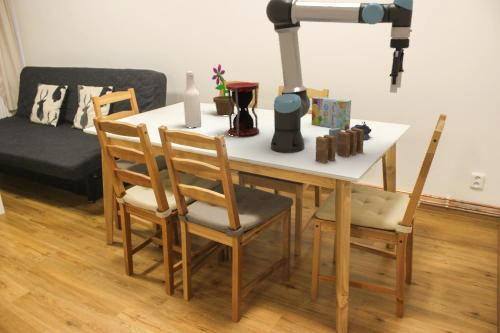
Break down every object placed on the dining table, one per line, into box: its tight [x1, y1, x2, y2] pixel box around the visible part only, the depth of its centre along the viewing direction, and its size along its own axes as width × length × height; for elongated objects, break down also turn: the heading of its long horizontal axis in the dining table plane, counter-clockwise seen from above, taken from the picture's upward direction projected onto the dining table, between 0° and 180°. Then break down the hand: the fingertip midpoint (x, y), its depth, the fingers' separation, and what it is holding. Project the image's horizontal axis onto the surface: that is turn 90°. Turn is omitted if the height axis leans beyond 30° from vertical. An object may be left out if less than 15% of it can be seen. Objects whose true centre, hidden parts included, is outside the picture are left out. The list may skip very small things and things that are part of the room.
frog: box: [350, 121, 372, 141], centre depth 211 cm, size 10×12×8 cm
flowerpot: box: [211, 64, 236, 116], centre depth 267 cm, size 14×14×30 cm
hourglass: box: [225, 81, 260, 138], centre depth 223 cm, size 16×16×25 cm
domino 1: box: [315, 135, 329, 164], centre depth 178 cm, size 2×5×10 cm, turn 35°
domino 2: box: [328, 128, 342, 153], centre depth 191 cm, size 2×5×10 cm, turn 126°
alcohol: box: [182, 70, 202, 129], centre depth 239 cm, size 9×9×30 cm
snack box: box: [311, 96, 352, 131], centre depth 233 cm, size 21×6×15 cm, turn 47°
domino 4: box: [336, 130, 350, 158], centre depth 185 cm, size 2×5×10 cm, turn 35°
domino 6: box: [352, 128, 365, 154], centre depth 190 cm, size 2×5×10 cm, turn 35°
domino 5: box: [344, 129, 357, 156], centre depth 187 cm, size 2×5×10 cm, turn 35°
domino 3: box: [323, 134, 336, 162], centre depth 180 cm, size 2×5×10 cm, turn 35°
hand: (395, 89), depth 188 cm, fingers open, 13 cm apart
